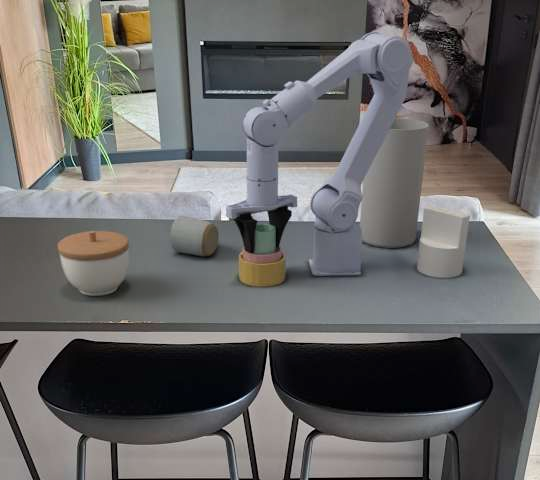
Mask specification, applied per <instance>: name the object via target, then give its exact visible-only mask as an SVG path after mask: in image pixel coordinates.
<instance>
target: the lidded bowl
mask: <svg viewBox="0 0 540 480" xmlns="http://www.w3.org/2000/svg"><path fill="white" fill-rule="evenodd" d="M129 247H130V242H129V239H128V237H126V235H124V234H122V233H118V232H115V231H114V232H113V231H109V230H108V231H107V230H89V231H82V232H78V233H73V234H70V235H67V236H66V237H64V238H62V239H61V240H60V241H59V242H58V243H57V251H58V253H59V259H60V265H61V268H62V271H63V274H64V276H65V278H66V279H67V281H68V282H69V283H70V284H71V286H73V287H74V288H75V289H77V290H78V291H79V292H80V293H81V294H82V295H86V296H90V297H91V296H93V297H97V296H99V297H100V296H106V295H109V294H112V293H114V292H116V291H117V290H118V288H119V286H120V285H121V284H122V283H123V282H124V280H125V279H126V278H127V277H126V276H127V274H128V271H129V265H130V250H129Z"/></svg>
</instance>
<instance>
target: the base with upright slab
mask: <svg viewBox="0 0 540 480" xmlns="http://www.w3.org/2000/svg"><path fill="white" fill-rule="evenodd" d="M470 219H471V213H467V212H464V211H459V210H454V209H450V208H446V207H442V206H437V205H434V204H431V205H426V206H425V207H424V208H423V215H422V223H421V230H420V231H421V232H420V238H419V242H418V243H419V244H418V253H417V261H416V269H417V271H418V272H419V273H421V274H423V275H425V276H428V277H432V278H440V279H441V278H442V279H447V278H454V277H459V276H460V275H461V274H462V273H463V269H464V261H465V255H466V248H467V240H468V233H469V225H470Z"/></svg>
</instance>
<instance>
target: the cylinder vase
mask: <svg viewBox="0 0 540 480" xmlns="http://www.w3.org/2000/svg"><path fill="white" fill-rule="evenodd" d="M428 133H429V124H428V123H427V122H425V121H423V120H419V119H412V118H401V117H395V119H394V121H393V123H392V125H391V127H390V129H389V131H388V133H387V135H386V137H385V139H384V141H383V143H382V145H381V147H380V149H379V150H378V152H377V154H376V156H375V158H374V160H373V162H372V164H371V166H370V168H369V170H368V172H367V174H366V176H365V178H364V180H363V182H362V188H361V192H362V201H361V203H360V206H361V207H360V216H359V217H360V218H359V219H360V220H359V226H360V227H361V230H362V243H363V242H364V243H365V244H367V245H370V246H373V247H377V248H384V249H399V248H404V247H407V246H411V245H412V244H413V243H415V241H416V238H417V231H418V230H417V229H418V223H419V222H418V221H419V213H420V204H421V196H422V185H423V179H424V168H425V161H426V160H425V159H426V153H427V152H426V151H427V143H428Z"/></svg>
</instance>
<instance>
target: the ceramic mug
mask: <svg viewBox="0 0 540 480" xmlns="http://www.w3.org/2000/svg"><path fill="white" fill-rule="evenodd" d="M169 235H170V236H169V238H170V239H169V241H170V246H171V248H172V250H173V251H174V252H176V253H182V254H186V255H187V254H188V255H194V256H198V257H209V256H211V255H213V254H214V253H215V251H216V249H217V247H218V244H219V229H218V227H217V226H216V224H215V223H214V222H213V223H212V222H210V221H209V220H204V219H199V218H195V217H192V216H186V215H178V216H177V217H176V218H175V219H174V221H173V223H172V226H171V229H170V234H169Z"/></svg>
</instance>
